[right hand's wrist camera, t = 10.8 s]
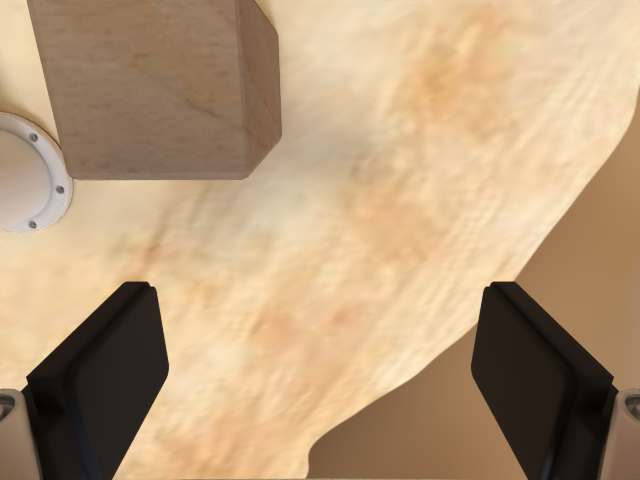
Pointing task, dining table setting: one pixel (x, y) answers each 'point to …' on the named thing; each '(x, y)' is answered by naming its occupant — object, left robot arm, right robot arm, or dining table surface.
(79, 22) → the wooden block
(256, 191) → the dining table surface
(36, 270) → the dining table surface
